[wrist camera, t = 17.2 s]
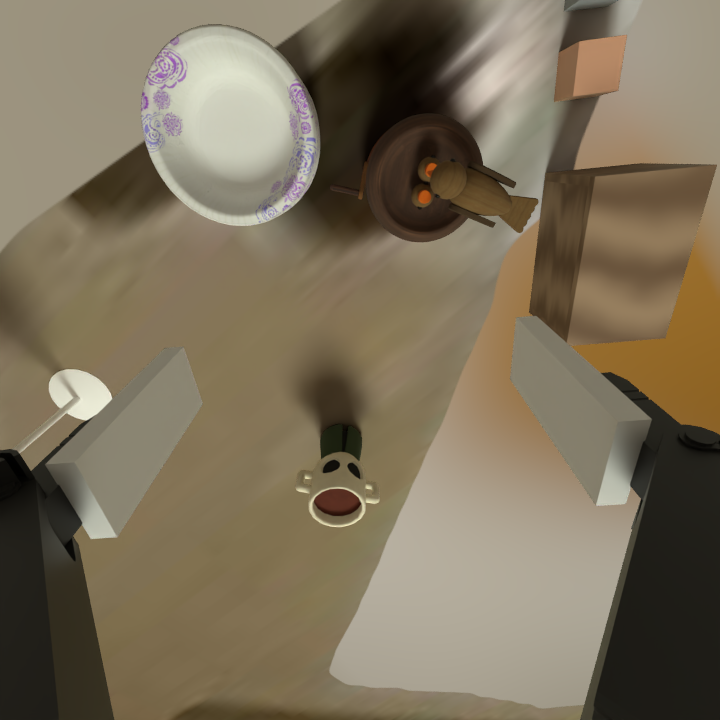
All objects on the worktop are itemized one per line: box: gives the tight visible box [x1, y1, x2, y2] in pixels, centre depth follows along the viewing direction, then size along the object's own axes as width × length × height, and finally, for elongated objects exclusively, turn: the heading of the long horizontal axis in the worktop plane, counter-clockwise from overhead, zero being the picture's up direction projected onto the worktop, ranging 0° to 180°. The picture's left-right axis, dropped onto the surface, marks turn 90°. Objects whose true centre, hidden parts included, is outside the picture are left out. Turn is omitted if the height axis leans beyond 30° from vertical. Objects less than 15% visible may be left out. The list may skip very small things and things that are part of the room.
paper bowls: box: [141, 24, 320, 226], centre depth 37 cm, size 15×15×8 cm
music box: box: [330, 113, 538, 242], centre depth 34 cm, size 15×11×20 cm
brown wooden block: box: [529, 164, 717, 346], centre depth 41 cm, size 16×10×10 cm, turn 5°
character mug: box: [295, 424, 380, 527], centre depth 53 cm, size 11×7×13 cm, turn 77°
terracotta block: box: [554, 35, 627, 102], centre depth 36 cm, size 4×4×4 cm
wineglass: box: [12, 369, 112, 453], centre depth 45 cm, size 9×10×23 cm
